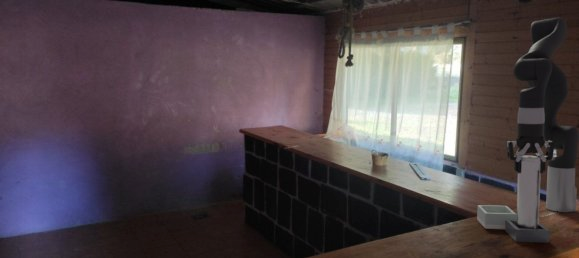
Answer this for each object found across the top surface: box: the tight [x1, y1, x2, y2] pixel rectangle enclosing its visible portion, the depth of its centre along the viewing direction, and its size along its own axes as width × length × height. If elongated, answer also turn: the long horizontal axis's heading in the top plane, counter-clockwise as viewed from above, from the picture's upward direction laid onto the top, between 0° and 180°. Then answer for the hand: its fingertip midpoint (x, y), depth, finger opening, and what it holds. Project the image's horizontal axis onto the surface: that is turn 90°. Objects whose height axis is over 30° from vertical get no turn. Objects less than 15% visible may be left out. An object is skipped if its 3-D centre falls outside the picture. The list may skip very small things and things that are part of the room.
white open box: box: [476, 204, 517, 230], centre depth 156 cm, size 10×10×6 cm
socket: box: [504, 220, 551, 244], centre depth 143 cm, size 10×10×4 cm
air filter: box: [516, 155, 542, 229], centre depth 142 cm, size 6×6×25 cm
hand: (529, 172), depth 141 cm, fingers closed on air filter, 6 cm apart
